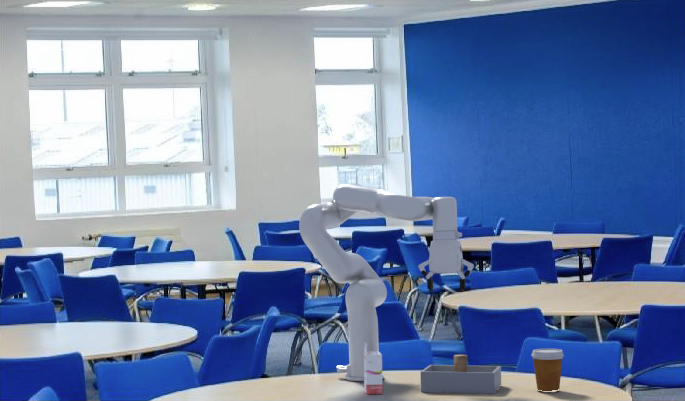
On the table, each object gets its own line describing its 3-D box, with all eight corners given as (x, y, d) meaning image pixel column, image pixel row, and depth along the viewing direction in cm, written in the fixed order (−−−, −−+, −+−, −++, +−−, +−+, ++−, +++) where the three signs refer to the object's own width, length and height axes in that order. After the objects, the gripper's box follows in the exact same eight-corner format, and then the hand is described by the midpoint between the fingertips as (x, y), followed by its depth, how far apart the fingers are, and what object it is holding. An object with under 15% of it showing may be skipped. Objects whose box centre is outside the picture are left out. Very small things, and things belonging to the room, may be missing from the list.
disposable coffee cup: (545, 395, 353) (544, 353, 353) (525, 390, 361) (524, 350, 361) (571, 391, 357) (570, 350, 357) (551, 387, 366) (550, 347, 366)
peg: (455, 387, 370) (455, 354, 370) (468, 387, 369) (468, 354, 368) (453, 389, 366) (452, 356, 366) (466, 390, 365) (465, 356, 365)
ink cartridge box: (383, 394, 361) (382, 344, 361) (366, 394, 361) (365, 345, 361) (380, 389, 370) (379, 340, 369) (364, 390, 369) (362, 341, 369)
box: (420, 391, 363) (420, 371, 363) (430, 384, 377) (429, 364, 377) (494, 393, 357) (494, 372, 357) (501, 385, 371) (500, 366, 371)
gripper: (474, 235, 380) (476, 290, 380) (420, 236, 385) (421, 290, 385) (470, 236, 373) (472, 292, 373) (415, 237, 378) (416, 292, 378)
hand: (446, 291), depth 379 cm, fingers open, 9 cm apart
